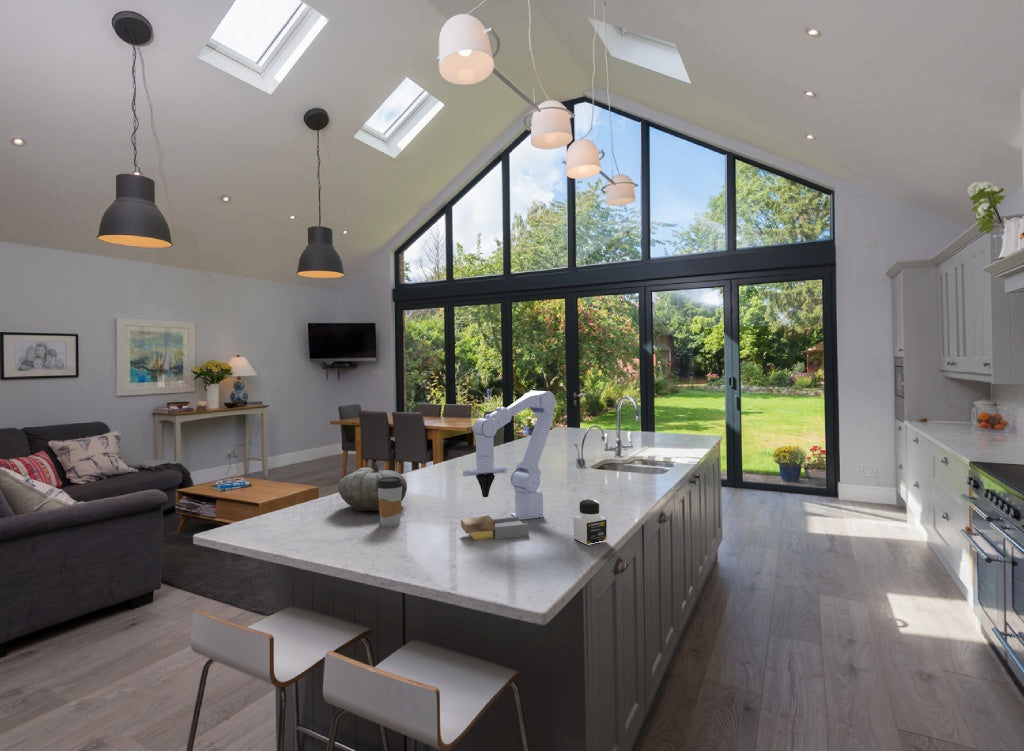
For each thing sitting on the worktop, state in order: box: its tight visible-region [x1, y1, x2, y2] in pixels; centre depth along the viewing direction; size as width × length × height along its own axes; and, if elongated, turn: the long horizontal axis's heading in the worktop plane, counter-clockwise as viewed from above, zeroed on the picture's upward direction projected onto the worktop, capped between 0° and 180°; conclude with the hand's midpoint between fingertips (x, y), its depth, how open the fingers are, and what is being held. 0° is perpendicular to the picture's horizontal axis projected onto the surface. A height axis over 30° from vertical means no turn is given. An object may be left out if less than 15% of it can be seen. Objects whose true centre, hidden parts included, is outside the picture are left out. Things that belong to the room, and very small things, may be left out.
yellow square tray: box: [468, 530, 494, 541], centre depth 168 cm, size 6×6×2 cm
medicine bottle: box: [573, 498, 608, 544], centre depth 163 cm, size 7×7×12 cm
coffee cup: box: [377, 477, 403, 528], centre depth 182 cm, size 8×8×15 cm
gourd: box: [337, 462, 408, 512], centre depth 204 cm, size 25×25×17 cm
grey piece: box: [492, 516, 530, 540], centre depth 171 cm, size 10×9×4 cm
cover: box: [460, 515, 495, 534], centre depth 169 cm, size 9×7×2 cm
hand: (485, 496), depth 180 cm, fingers closed
